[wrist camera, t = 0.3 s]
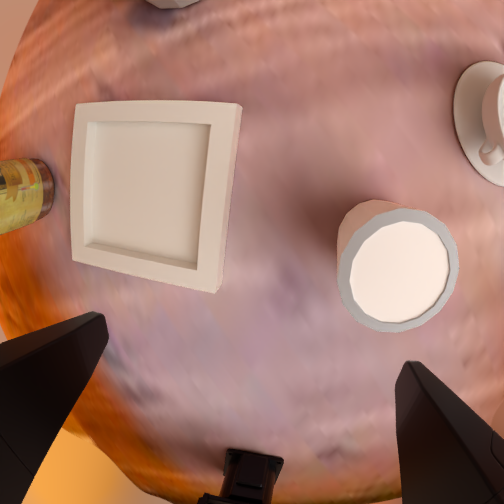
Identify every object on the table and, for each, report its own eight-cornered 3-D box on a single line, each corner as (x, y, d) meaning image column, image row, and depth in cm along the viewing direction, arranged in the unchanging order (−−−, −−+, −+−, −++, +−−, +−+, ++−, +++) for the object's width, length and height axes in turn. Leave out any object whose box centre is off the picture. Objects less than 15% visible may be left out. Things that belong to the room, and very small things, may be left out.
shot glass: (308, 244, 22) (308, 285, 16) (370, 169, 20) (400, 178, 13) (376, 300, 23) (397, 354, 16) (436, 233, 20) (481, 266, 14)
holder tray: (221, 283, 24) (215, 293, 22) (84, 253, 26) (72, 260, 24) (242, 107, 20) (237, 103, 18) (89, 105, 21) (75, 103, 20)
